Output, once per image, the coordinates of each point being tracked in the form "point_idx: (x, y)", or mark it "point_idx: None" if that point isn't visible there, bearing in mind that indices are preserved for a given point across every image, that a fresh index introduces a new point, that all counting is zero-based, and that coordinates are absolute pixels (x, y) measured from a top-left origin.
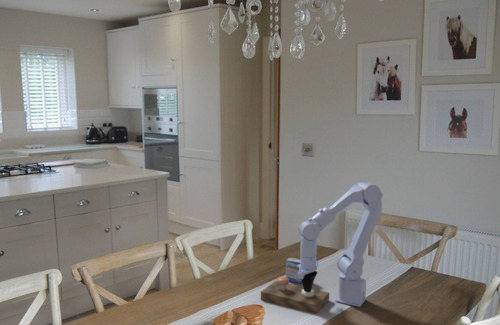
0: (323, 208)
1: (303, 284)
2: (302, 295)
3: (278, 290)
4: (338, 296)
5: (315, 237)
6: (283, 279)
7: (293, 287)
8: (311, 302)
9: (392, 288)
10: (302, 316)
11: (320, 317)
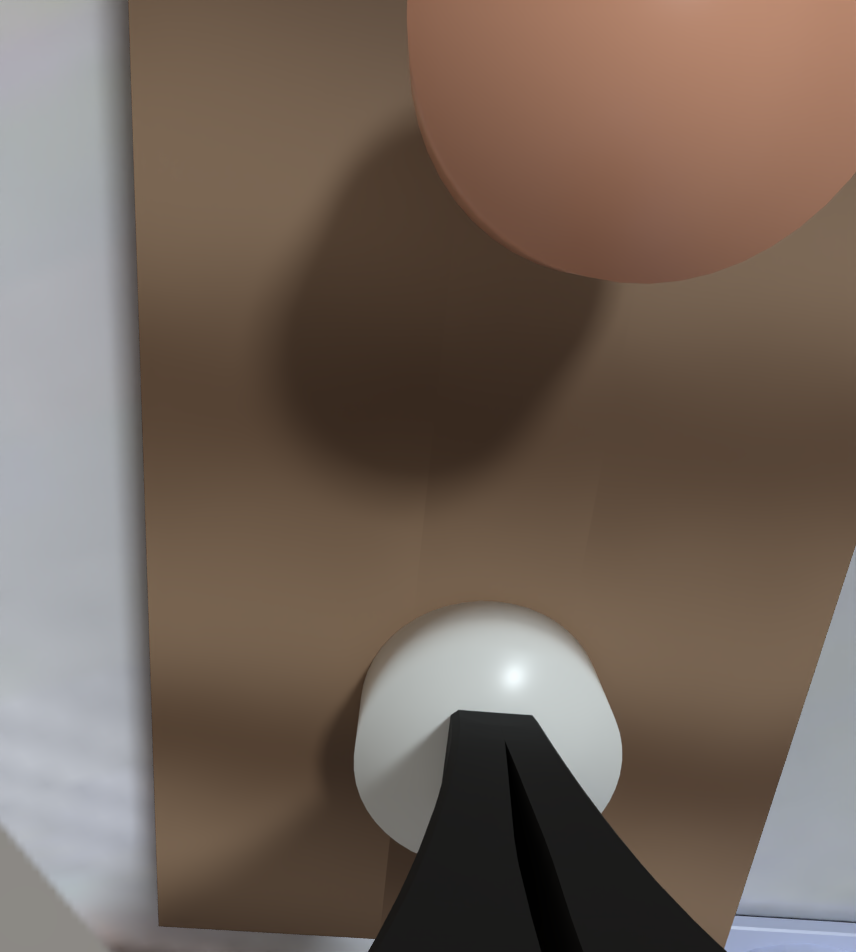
0: None
1: (430, 833)
2: (386, 649)
3: None
4: (797, 940)
5: None
6: (627, 62)
7: (766, 330)
8: (209, 836)
9: None
10: (13, 678)
11: (128, 867)
